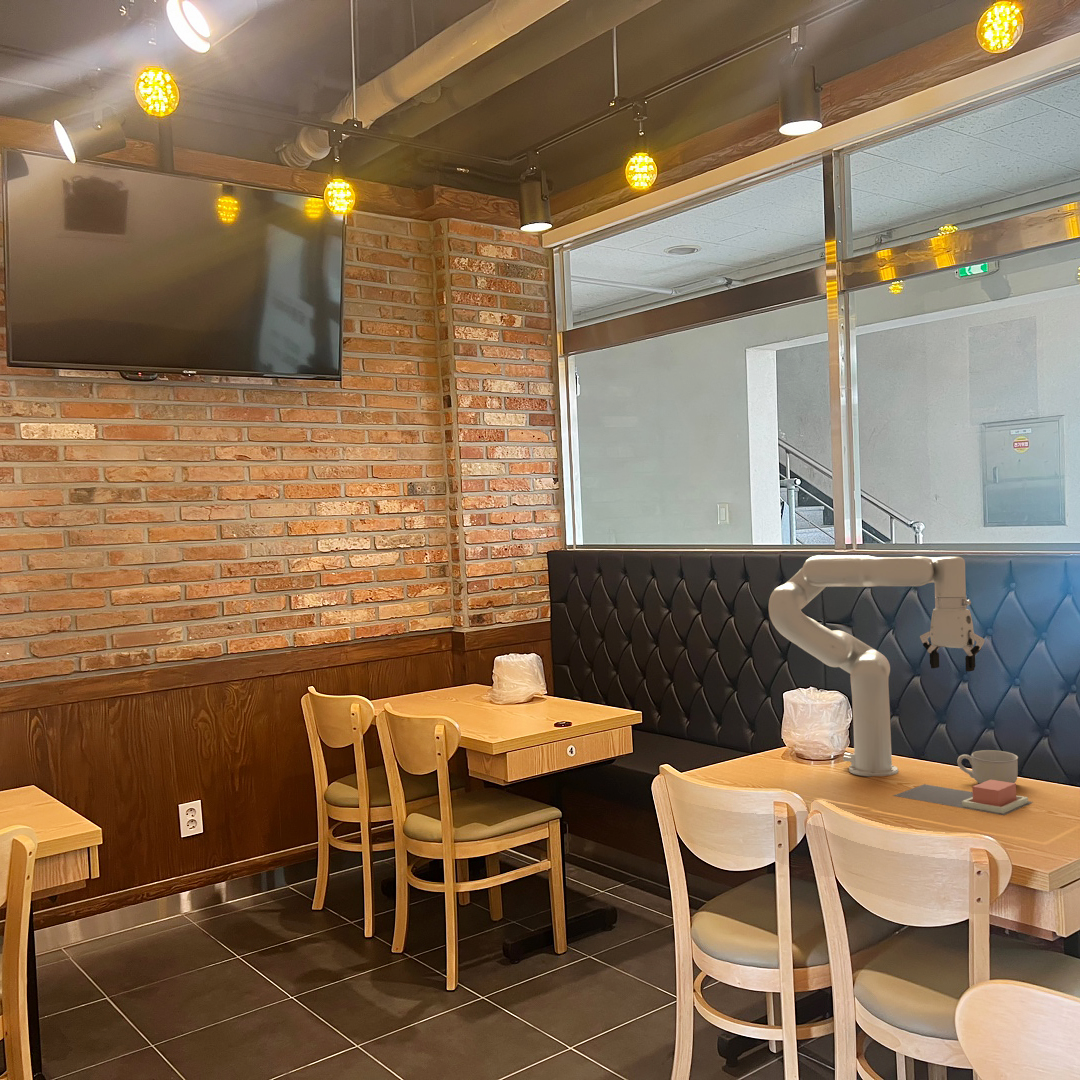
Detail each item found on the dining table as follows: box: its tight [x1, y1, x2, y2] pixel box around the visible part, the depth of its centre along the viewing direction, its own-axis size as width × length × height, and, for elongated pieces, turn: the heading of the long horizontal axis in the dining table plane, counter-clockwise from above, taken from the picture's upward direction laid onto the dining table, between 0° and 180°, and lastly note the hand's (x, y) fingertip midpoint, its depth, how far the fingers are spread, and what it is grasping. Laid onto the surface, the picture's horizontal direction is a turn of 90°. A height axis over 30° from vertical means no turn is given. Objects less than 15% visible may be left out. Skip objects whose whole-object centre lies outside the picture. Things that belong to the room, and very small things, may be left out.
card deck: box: [972, 780, 1017, 807], centre depth 238 cm, size 9×6×4 cm, turn 131°
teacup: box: [956, 749, 1019, 784], centre depth 257 cm, size 14×11×8 cm
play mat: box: [892, 783, 1034, 816], centre depth 244 cm, size 27×15×1 cm, turn 41°
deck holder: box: [962, 795, 1029, 814], centre depth 238 cm, size 10×13×1 cm
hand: (952, 669), depth 268 cm, fingers open, 9 cm apart
